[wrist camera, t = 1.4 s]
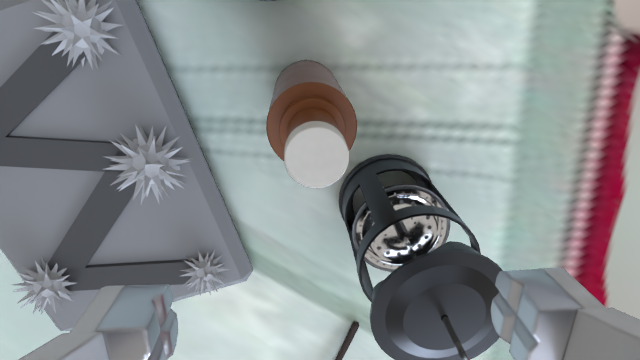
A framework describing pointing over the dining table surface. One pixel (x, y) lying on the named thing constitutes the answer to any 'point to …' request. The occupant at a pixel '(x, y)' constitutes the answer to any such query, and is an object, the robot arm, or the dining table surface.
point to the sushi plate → (347, 341)
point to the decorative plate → (101, 162)
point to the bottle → (311, 124)
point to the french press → (418, 266)
